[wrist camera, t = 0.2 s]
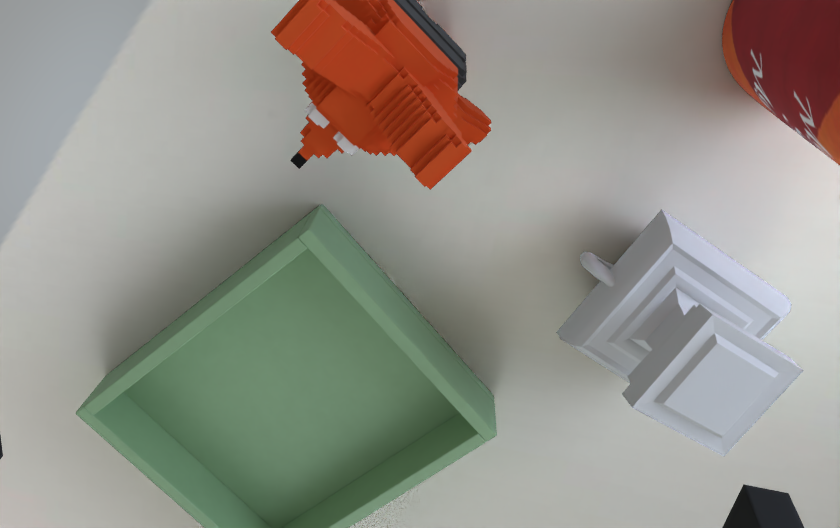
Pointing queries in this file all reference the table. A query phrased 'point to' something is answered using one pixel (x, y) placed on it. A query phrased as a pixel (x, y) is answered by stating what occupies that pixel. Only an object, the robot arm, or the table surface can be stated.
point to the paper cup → (790, 63)
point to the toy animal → (382, 84)
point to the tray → (294, 392)
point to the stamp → (685, 333)
